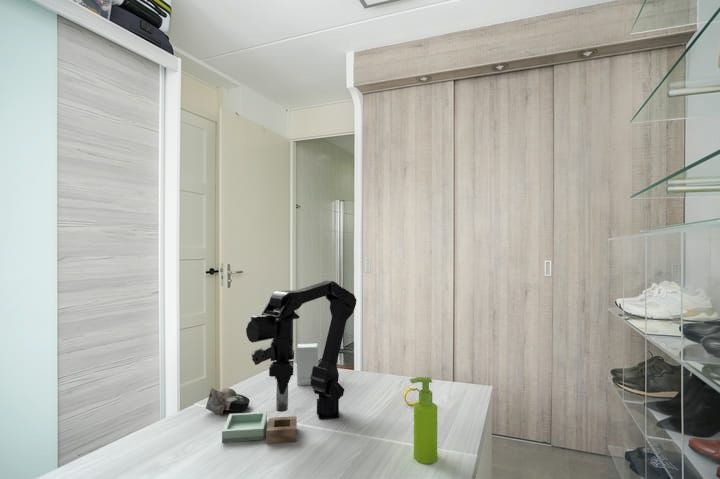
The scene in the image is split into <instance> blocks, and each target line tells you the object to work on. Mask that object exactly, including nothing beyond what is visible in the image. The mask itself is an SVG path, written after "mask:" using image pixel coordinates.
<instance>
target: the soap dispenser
mask: <svg viewBox="0 0 720 479" xmlns="http://www.w3.org/2000/svg"><path fill="white" fill-rule="evenodd" d="M409 381H410V383H411V384H415V383H422V384H421V385H422V386H421V389H419V391H418V400H419V402H417V401H416V402H417V403H416V402H414V403H415V404H414V405H413V459H414V460H415V461H416V462H417V463H420V464H423V465H433V464H435V463H436V462H437V461H438V405H437V404H436V403H434V402H433V391H431V389H430V383H431V384H432V383H433V379H432V378H430V377H423V376H422V377H414V378H410V379H409Z"/></svg>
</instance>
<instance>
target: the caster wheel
mask: <svg viewBox="0 0 720 479" xmlns="http://www.w3.org/2000/svg"><path fill="white" fill-rule="evenodd" d="M206 401H207V402H206V405H205V409H206V410H208V411H210V412H211V413H214V414H216V415H219V416H222V415H223V413H224V410H225V411H233V412H245V411H247V410H248V409H249V405H250V402H251V401H250V399H249V398H248V397H247V396H246V395H243V394H240V393H237V392H236V391H235V390H234V389H232V388H230V387H229V388H226V387H225V388H222V389H218V390H217V389H215V388H213V387H211V388H210V391H209V395H208V398H207V400H206Z"/></svg>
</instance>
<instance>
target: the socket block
mask: <svg viewBox="0 0 720 479" xmlns="http://www.w3.org/2000/svg"><path fill="white" fill-rule="evenodd" d="M297 417H298V416H295V415H294V416H279V417H278V416H276V417H268V419H267V424H266V430H265V435H266V437H265V438H266V440H265V441H266V442H265V443H266V445H267V444H268V445H269V444H281V443H296V442H297V430H298V429H297V428H298V427H297Z"/></svg>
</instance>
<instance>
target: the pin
mask: <svg viewBox="0 0 720 479" xmlns="http://www.w3.org/2000/svg"><path fill="white" fill-rule="evenodd" d="M274 380H277V378H276V377H275V376H274ZM275 397H276V402H275V403H276V407H275V410H276V412H279V413H284V412H286V411H289V410H288V409H289V384H288V385H287V388H286V390H285V393H284V394H280V392H279V387H278V383H277V382H276V396H275Z"/></svg>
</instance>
